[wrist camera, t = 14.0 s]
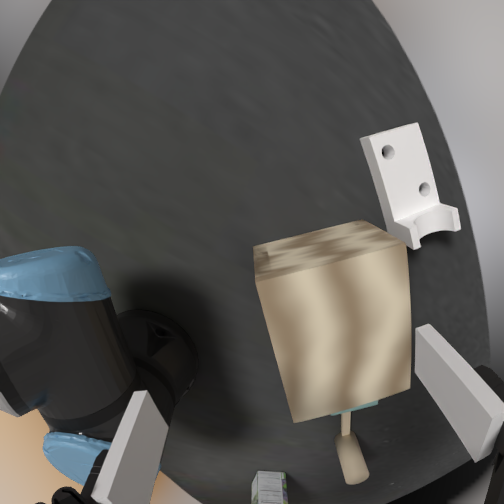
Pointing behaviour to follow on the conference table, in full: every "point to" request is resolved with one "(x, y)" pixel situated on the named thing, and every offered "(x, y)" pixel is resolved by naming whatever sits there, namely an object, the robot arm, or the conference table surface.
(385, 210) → the bracket
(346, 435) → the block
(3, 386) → the robot arm
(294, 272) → the wooden frame
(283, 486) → the syrup box
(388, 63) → the conference table surface
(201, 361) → the conference table surface
